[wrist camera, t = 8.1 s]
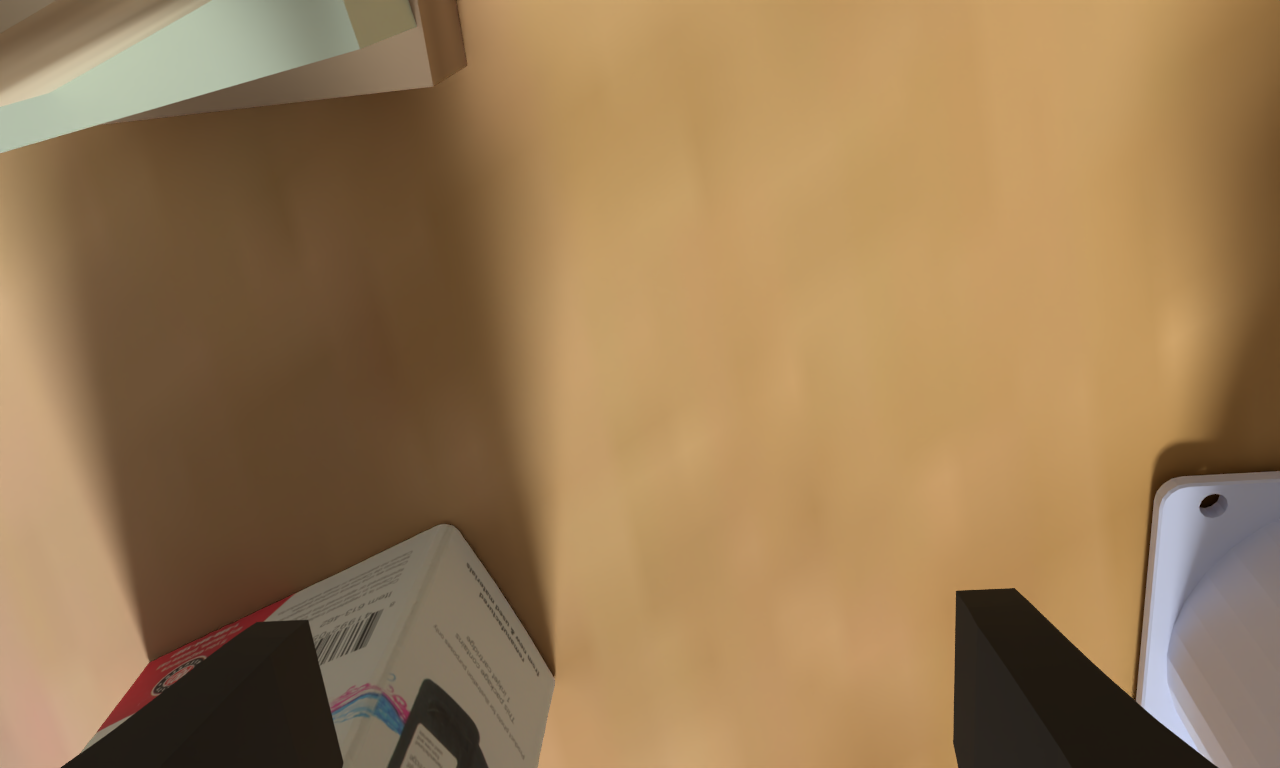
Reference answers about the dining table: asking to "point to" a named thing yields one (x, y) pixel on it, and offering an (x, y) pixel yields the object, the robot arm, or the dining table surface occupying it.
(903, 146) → the dining table surface
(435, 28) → the walnut base block
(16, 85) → the maple block
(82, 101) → the sage top block
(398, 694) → the ink box
